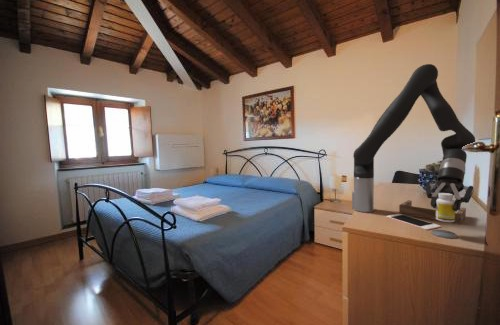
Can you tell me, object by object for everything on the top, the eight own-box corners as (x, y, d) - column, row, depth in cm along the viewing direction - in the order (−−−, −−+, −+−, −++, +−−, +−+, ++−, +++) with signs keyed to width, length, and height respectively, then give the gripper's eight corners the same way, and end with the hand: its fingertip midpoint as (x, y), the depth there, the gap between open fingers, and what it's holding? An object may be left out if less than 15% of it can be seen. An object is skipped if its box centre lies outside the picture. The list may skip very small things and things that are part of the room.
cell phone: (426, 231, 87) (426, 229, 87) (385, 217, 104) (385, 215, 104) (441, 228, 90) (441, 225, 90) (399, 215, 107) (399, 213, 107)
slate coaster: (428, 234, 84) (428, 232, 84) (435, 229, 88) (435, 228, 87) (453, 240, 78) (453, 238, 78) (459, 235, 82) (459, 233, 82)
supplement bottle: (458, 222, 79) (459, 195, 78) (441, 222, 80) (441, 195, 80) (448, 217, 84) (449, 192, 84) (432, 217, 85) (432, 192, 85)
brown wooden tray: (408, 207, 118) (408, 200, 117) (465, 216, 101) (465, 208, 100) (399, 213, 109) (399, 205, 109) (460, 224, 92) (460, 214, 92)
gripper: (426, 165, 91) (418, 199, 84) (476, 167, 80) (471, 206, 73) (430, 176, 95) (421, 210, 88) (478, 179, 84) (473, 218, 77)
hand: (444, 208), depth 81 cm, fingers closed on supplement bottle, 5 cm apart
